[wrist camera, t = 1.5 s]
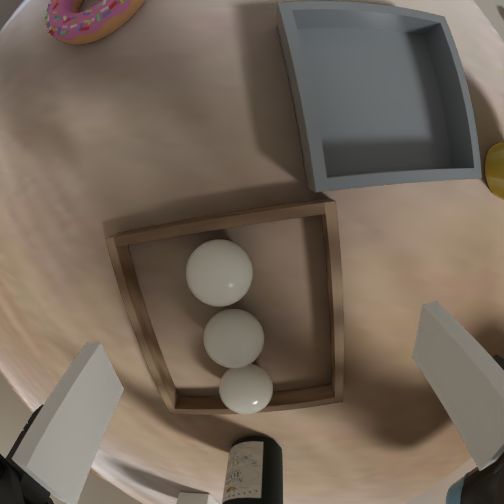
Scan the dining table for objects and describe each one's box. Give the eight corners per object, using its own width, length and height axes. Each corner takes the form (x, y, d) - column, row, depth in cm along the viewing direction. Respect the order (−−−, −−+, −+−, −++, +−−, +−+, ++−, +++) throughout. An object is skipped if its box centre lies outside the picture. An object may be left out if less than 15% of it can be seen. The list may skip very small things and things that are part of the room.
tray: (339, 388, 33) (342, 401, 30) (174, 401, 35) (170, 413, 32) (329, 198, 26) (335, 201, 24) (117, 233, 28) (105, 239, 26)
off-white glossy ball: (258, 286, 29) (256, 314, 23) (201, 293, 30) (187, 321, 24) (248, 228, 28) (244, 244, 22) (189, 237, 28) (169, 255, 22)
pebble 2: (268, 343, 31) (267, 377, 25) (215, 348, 32) (206, 381, 26) (260, 295, 29) (258, 325, 24) (203, 301, 30) (190, 331, 24)
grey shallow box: (454, 175, 25) (481, 178, 20) (307, 188, 26) (316, 192, 21) (423, 32, 20) (444, 16, 15) (276, 27, 22) (277, 2, 17)
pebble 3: (275, 387, 33) (276, 422, 27) (228, 391, 34) (222, 425, 28) (269, 350, 31) (269, 385, 26) (217, 355, 32) (208, 389, 26)
